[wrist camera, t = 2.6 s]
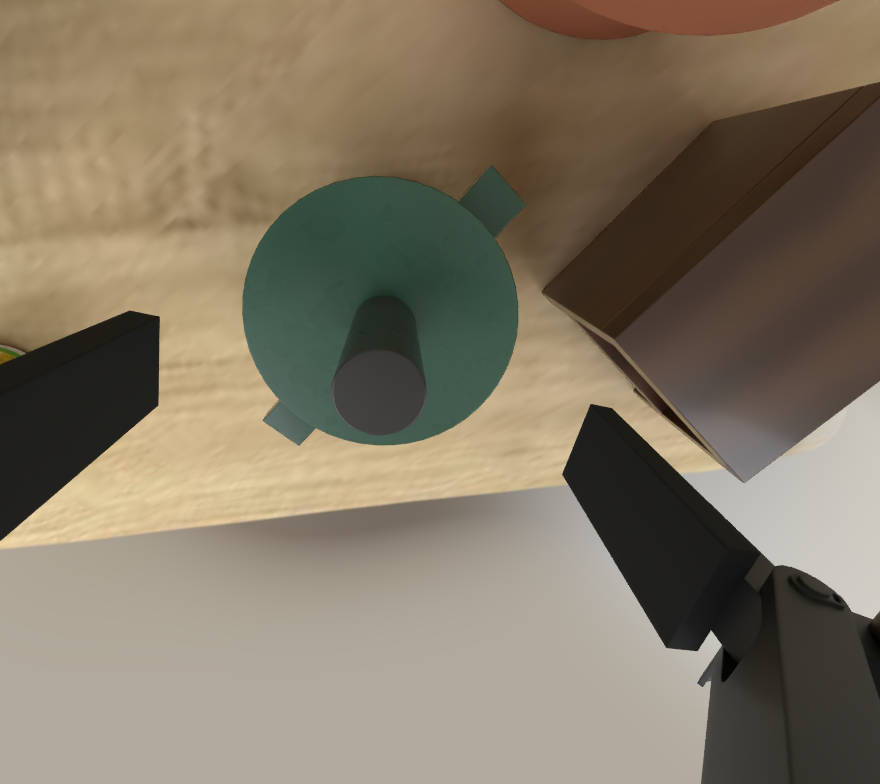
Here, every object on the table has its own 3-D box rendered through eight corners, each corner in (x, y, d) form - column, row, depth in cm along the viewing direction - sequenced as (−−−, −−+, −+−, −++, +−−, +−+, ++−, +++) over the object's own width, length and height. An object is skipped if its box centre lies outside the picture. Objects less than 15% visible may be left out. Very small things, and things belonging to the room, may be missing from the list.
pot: (231, 327, 29) (176, 370, 22) (409, 108, 25) (415, 72, 18) (370, 432, 33) (363, 498, 26) (543, 257, 29) (592, 277, 22)
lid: (194, 328, 22) (69, 411, 13) (370, 105, 19) (351, 32, 10) (395, 475, 26) (396, 606, 18) (563, 313, 23) (659, 379, 15)
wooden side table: (540, 292, 30) (613, 339, 20) (713, 120, 27) (903, 75, 17) (641, 400, 34) (744, 484, 24) (802, 261, 31) (997, 292, 21)
